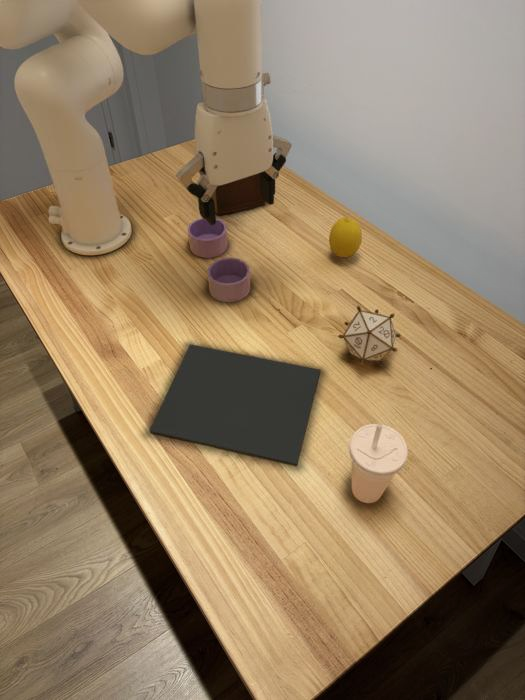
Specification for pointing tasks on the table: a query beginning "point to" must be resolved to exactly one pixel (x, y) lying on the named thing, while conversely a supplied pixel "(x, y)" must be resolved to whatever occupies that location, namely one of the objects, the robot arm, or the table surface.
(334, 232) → the lemon
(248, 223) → the table surface
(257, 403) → the mat
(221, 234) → the dish
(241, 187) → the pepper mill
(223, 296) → the dish
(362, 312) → the game die
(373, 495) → the smoothie
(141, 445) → the table surface
